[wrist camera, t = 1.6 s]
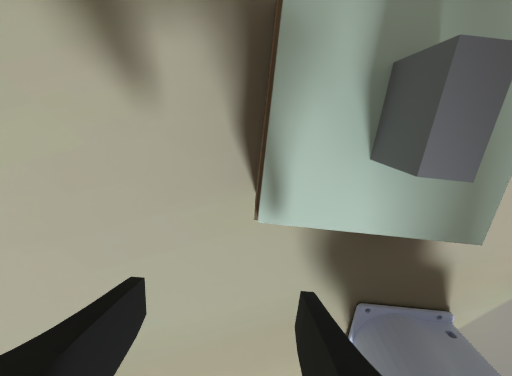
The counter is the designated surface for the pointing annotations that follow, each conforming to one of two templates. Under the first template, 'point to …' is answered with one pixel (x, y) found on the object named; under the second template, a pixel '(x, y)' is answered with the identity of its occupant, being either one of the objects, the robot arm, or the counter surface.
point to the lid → (390, 117)
